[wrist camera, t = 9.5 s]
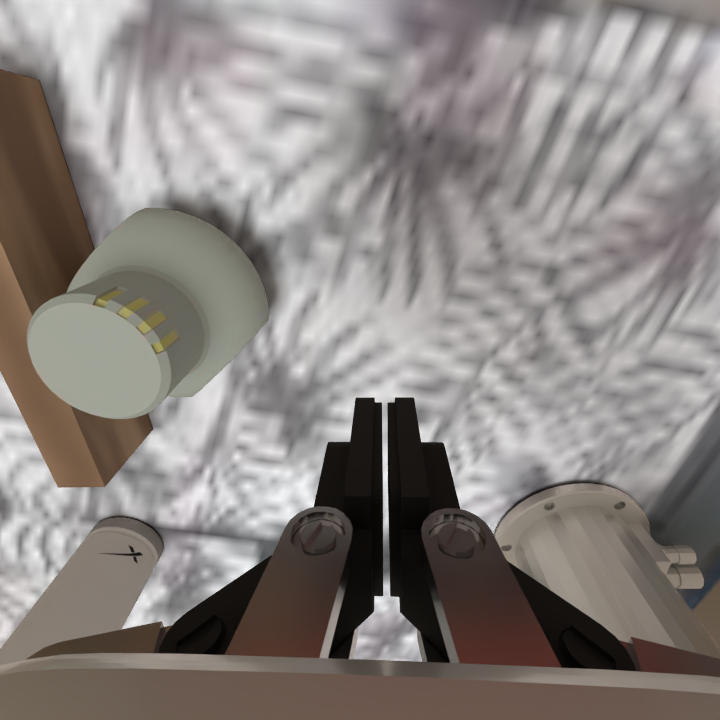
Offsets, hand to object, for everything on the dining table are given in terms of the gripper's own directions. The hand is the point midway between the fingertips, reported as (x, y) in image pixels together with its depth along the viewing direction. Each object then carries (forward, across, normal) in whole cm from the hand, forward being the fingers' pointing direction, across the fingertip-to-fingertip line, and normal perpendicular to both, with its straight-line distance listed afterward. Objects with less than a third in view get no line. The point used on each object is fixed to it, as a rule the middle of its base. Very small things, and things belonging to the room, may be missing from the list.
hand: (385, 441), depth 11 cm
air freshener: (+15, +12, -1) cm, 19 cm away
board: (+14, +19, -2) cm, 24 cm away
